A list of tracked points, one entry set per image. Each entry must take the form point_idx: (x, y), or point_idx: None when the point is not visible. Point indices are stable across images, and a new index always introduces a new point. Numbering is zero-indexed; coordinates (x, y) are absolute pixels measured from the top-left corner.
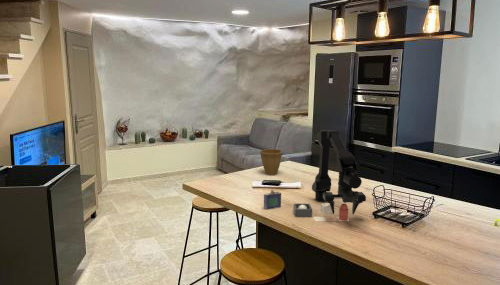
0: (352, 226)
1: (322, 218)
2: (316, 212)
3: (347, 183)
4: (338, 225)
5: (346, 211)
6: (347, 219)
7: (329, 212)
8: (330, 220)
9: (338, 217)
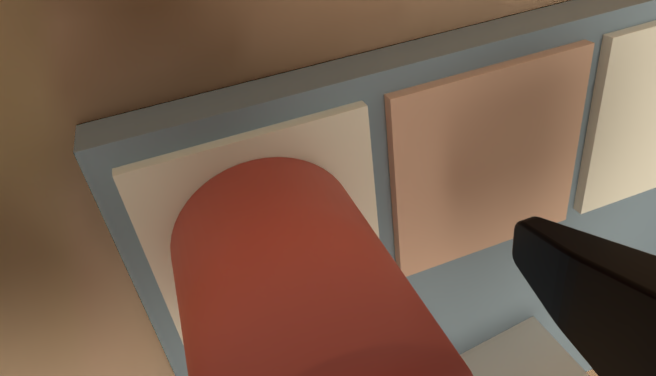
0: (24, 11)
1: (624, 142)
2: None
3: None
4: (356, 5)
5: (261, 347)
6: (174, 230)
7: None
8: (526, 87)
9: None
